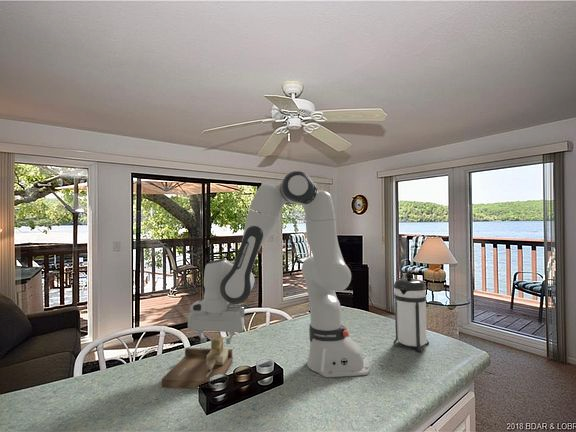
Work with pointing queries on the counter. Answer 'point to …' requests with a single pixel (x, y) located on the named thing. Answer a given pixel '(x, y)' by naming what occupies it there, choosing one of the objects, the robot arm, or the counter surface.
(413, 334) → the coffee press
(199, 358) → the walnut board
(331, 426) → the counter surface
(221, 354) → the marking slider
